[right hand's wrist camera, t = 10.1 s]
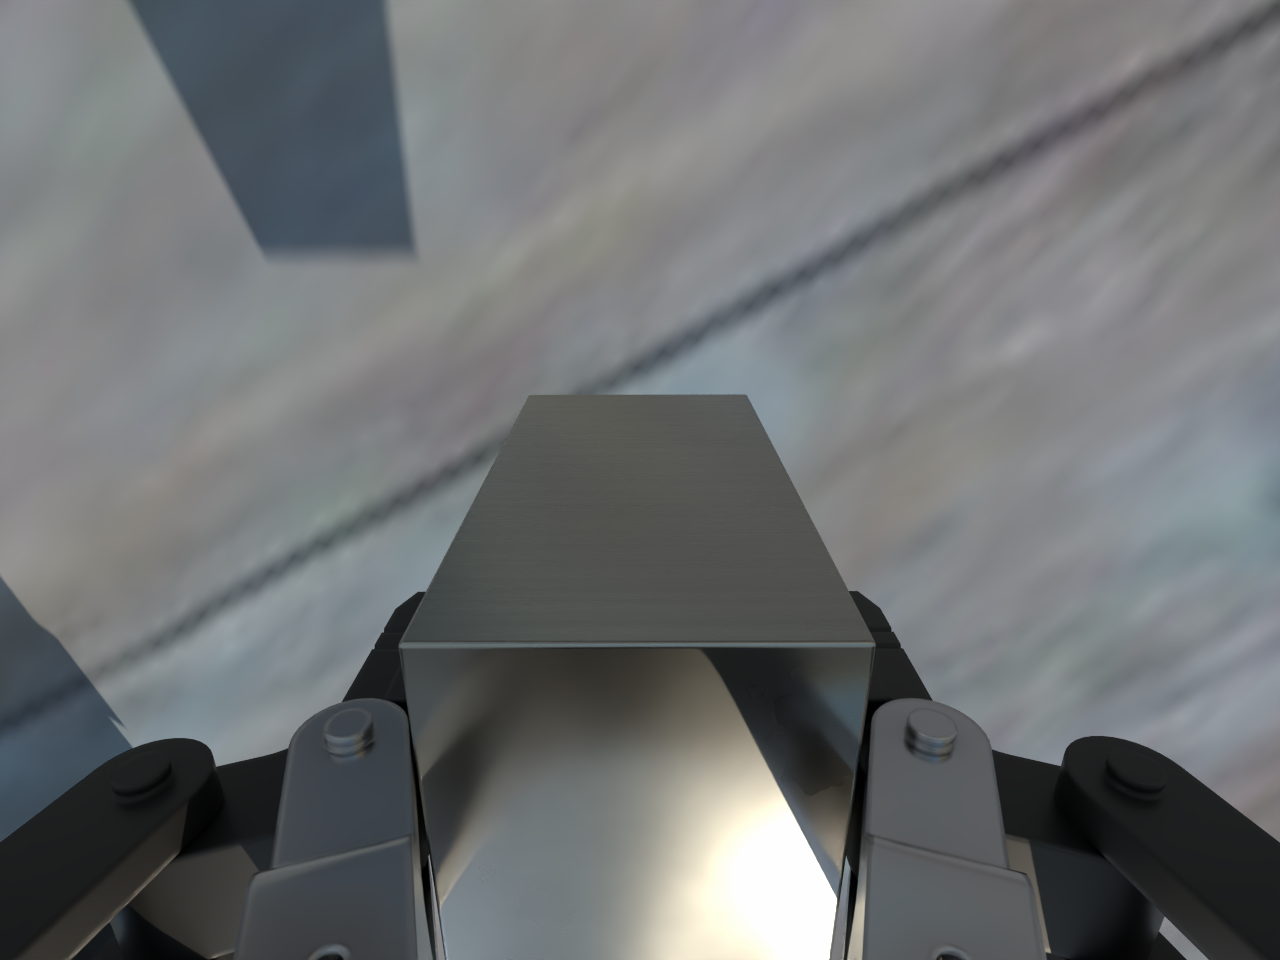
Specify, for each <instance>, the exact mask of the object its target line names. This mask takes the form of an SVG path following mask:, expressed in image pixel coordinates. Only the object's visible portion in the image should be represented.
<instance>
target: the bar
mask: <svg viewBox="0 0 1280 960" xmlns="http://www.w3.org/2000/svg"><path fill="white" fill-rule="evenodd" d="M875 647H876V644H875V641H874V639H873V637H872V635H871V633H870V631H869V629H868V627H867V625H866V624H865V622H864V620H863V618H862V616H861V614H860V612H859V610H858V608H857V606H856V604H855V602H854V601H853V599H852V597H851V595H850V593H849V591H848V589H847V587H846V585H845V583H844V581H843V579H842V577H841V576H840V574H839V572H838V570H837V568H836V566H835V564H834V562H833V560H832V558H831V556H830V554H829V552H828V551H827V549H826V547H825V545H824V543H823V541H822V539H821V537H820V535H819V533H818V531H817V529H816V527H815V526H814V524H813V522H812V520H811V518H810V516H809V514H808V512H807V510H806V508H805V506H804V504H803V502H802V501H801V499H800V497H799V495H798V493H797V491H796V489H795V487H794V485H793V483H792V481H791V479H790V477H789V476H788V474H787V472H786V470H785V468H784V466H783V464H782V462H781V460H780V458H779V456H778V454H777V453H776V451H775V449H774V447H773V445H772V443H771V441H770V439H769V437H768V435H767V433H766V431H765V429H764V428H763V426H762V424H761V422H760V420H759V418H758V416H757V414H756V412H755V410H754V408H753V406H752V404H751V403H750V401H749V399H748V397H747V395H530V396H529V397H528V399H527V401H526V403H525V404H524V406H523V408H522V410H521V412H520V414H519V416H518V418H517V420H516V422H515V423H514V425H513V427H512V429H511V431H510V433H509V435H508V437H507V439H506V441H505V442H504V444H503V446H502V448H501V450H500V452H499V454H498V456H497V458H496V460H495V462H494V463H493V465H492V467H491V469H490V471H489V473H488V475H487V477H486V479H485V481H484V482H483V484H482V486H481V488H480V490H479V492H478V494H477V496H476V498H475V500H474V502H473V503H472V505H471V507H470V509H469V511H468V513H467V515H466V517H465V519H464V521H463V522H462V524H461V526H460V528H459V530H458V532H457V534H456V536H455V538H454V540H453V541H452V543H451V545H450V547H449V549H448V551H447V553H446V555H445V557H444V559H443V561H442V562H441V564H440V566H439V568H438V570H437V572H436V574H435V576H434V578H433V580H432V581H431V583H430V585H429V587H428V589H427V591H426V593H425V595H424V597H423V599H422V601H421V602H420V604H419V606H418V608H417V610H416V612H415V614H414V616H413V618H412V620H411V621H410V623H409V625H408V627H407V629H406V631H405V633H404V635H403V637H402V639H401V640H400V643H399V653H400V660H401V666H402V673H403V680H404V686H405V693H406V700H407V707H408V713H409V720H410V727H411V733H412V740H413V747H414V753H415V760H416V767H417V774H418V780H419V787H420V794H421V800H422V807H423V814H424V820H425V827H426V834H427V841H428V847H429V854H430V861H431V867H432V874H433V881H434V887H435V894H436V901H437V908H438V914H439V921H440V928H441V934H442V941H443V948H444V954H445V960H831V957H832V950H833V943H834V935H835V928H836V921H837V914H838V907H839V900H840V893H841V886H842V879H843V872H844V865H845V858H846V851H847V844H848V837H849V830H850V823H851V816H852V809H853V802H854V795H855V788H856V781H857V773H858V766H859V759H860V752H861V745H862V738H863V731H864V724H865V717H866V710H867V703H868V696H869V689H870V682H871V675H872V668H873V661H874V654H875Z"/></svg>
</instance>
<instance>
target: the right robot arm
mask: <svg viewBox="0 0 1280 960" xmlns="http://www.w3.org/2000/svg"><path fill="white" fill-rule="evenodd" d="M425 593H426V592H417V593H416V594H415V595H413V596H412V597H411V598H409V599H408V600H407V601H405V602H404V603H403V604H401V605H400V606H399V607H397V608H396V609H395V611H394V613H393V614H392V616H391V618H390V620H389V621H388V623H387V625H386V626H385V628H384V633H381V635H380V637H379V639H378V640H377V642H376V644H375V649H372V651H371V652H370V654H369V656H368V658H367V659H366V661H365V663H364V665H363V666H362V668H361V670H360V671H359V673H358V675H357V677H356V678H355V680H354V682H353V684H352V685H351V687H350V689H349V690H348V692H347V694H346V696H345V697H344V699H343V701H342V702H341V703H338V704H336V705H333V706H330V707H328V708H326V709H324V710H322V711H320V712H318V713H317V714H315V715H313V716H312V717H311V718H309V719H308V720H307V721H306V722H304V723H303V724H302V725H301V726H300V727H299V729H298V730H297V731H296V732H295V734H294V735H293V737H292V739H291V741H290V744H289V748H288V749H285V750H282V751H280V752H277V753H274V754H270V755H266V756H262V757H258V758H253V759H249V760H245V761H240V762H236V763H231V764H227V765H222V766H218V767H216V765H215V761H214V758H213V755H212V752H211V750H210V749H209V748H208V746H207V745H205V744H203V743H202V742H200V741H197V740H194V739H187V738H172V739H164V740H159V741H154V742H150V743H147V744H144V745H140V746H138V747H135V748H133V749H130V750H128V751H126V752H124V753H122V754H119V755H117V756H116V757H114V758H112V759H110V760H109V761H107V762H105V763H104V764H103V765H101V766H100V767H98V768H97V769H96V770H94V771H93V772H92V773H90V774H89V775H88V776H86V777H85V778H84V779H82V780H81V781H80V782H79V783H77V784H76V785H75V786H73V787H72V788H71V789H69V790H68V791H67V792H66V793H64V794H63V795H62V796H60V797H59V798H58V799H56V800H55V801H54V802H53V803H51V804H50V805H49V806H47V807H46V808H45V809H43V810H42V811H41V812H40V813H38V814H37V815H36V816H34V817H33V818H32V819H30V820H29V821H28V822H26V823H25V824H24V825H23V826H21V827H20V828H19V829H17V830H16V831H15V832H13V833H12V834H11V835H10V836H8V837H7V838H6V839H4V840H3V841H2V842H0V960H438V950H437V937H436V925H435V912H434V900H433V887H432V878H431V871H430V864H429V858H428V856H429V847H428V841H427V834H426V827H425V820H424V814H423V807H422V800H421V794H420V787H419V780H418V774H417V767H416V760H415V753H414V747H413V740H412V733H411V727H410V720H409V713H408V707H407V700H406V693H405V686H404V680H403V673H402V666H401V660H400V653H399V643H400V640H401V639H402V637H403V635H404V633H405V631H406V629H407V627H408V625H409V623H410V621H411V620H412V618H413V616H414V614H415V612H416V610H417V608H418V606H419V604H420V602H421V601H422V599H423V597H424V595H425ZM849 593H850V595H851V597H852V599H853V601H854V602H855V604H856V606H857V608H858V610H859V612H860V614H861V616H862V618H863V620H864V622H865V624H866V625H867V627H868V629H869V631H870V633H871V635H872V637H873V639H874V641H875V644H876V647H875V654H874V661H873V668H872V675H871V682H870V689H869V696H868V703H867V710H866V717H865V724H864V731H863V738H862V745H861V752H860V759H859V766H858V773H857V781H856V788H855V795H854V802H853V809H852V816H851V823H850V830H849V837H848V844H847V851H846V856H847V859H848V862H849V865H850V871H849V877H848V887H847V899H846V912H845V924H844V937H843V949H842V960H1186V959H1185V958H1184V957H1183V956H1182V955H1181V953H1180V952H1179V951H1178V950H1177V949H1176V948H1175V947H1174V946H1173V945H1172V944H1171V943H1170V942H1169V941H1168V940H1167V939H1166V938H1165V937H1164V936H1163V935H1162V934H1161V933H1160V932H1159V929H1160V927H1161V924H1162V921H1163V919H1164V916H1165V917H1166V918H1167V919H1168V920H1169V921H1170V922H1171V923H1172V924H1173V925H1174V926H1175V927H1176V928H1177V929H1178V930H1179V931H1180V932H1181V933H1182V934H1183V935H1185V936H1186V937H1187V938H1188V939H1189V940H1190V941H1191V942H1192V943H1193V944H1194V945H1195V946H1196V947H1197V948H1198V949H1199V950H1200V951H1201V952H1202V953H1203V954H1204V955H1205V956H1206V957H1207V958H1208V959H1209V960H1280V842H1278V841H1277V840H1276V839H1274V838H1273V837H1272V836H1270V835H1269V834H1268V833H1267V832H1265V831H1264V830H1263V829H1261V828H1260V827H1259V826H1257V825H1256V824H1255V823H1253V822H1252V821H1251V820H1250V819H1248V818H1247V817H1246V816H1244V815H1243V814H1242V813H1240V812H1239V811H1238V810H1237V809H1235V808H1234V807H1233V806H1231V805H1230V804H1229V803H1227V802H1226V801H1225V800H1224V799H1222V798H1221V797H1220V796H1218V795H1217V794H1216V793H1214V792H1213V791H1212V790H1211V789H1209V788H1208V787H1207V786H1205V785H1204V784H1203V783H1201V782H1200V781H1199V780H1197V779H1196V778H1195V777H1194V776H1192V775H1191V774H1190V773H1188V772H1187V771H1186V770H1184V769H1183V768H1182V767H1181V766H1179V765H1178V764H1176V763H1175V762H1173V761H1172V760H1170V759H1169V758H1167V757H1165V756H1164V755H1162V754H1160V753H1158V752H1156V751H1154V750H1152V749H1150V748H1148V747H1145V746H1142V745H1140V744H1137V743H1134V742H1131V741H1128V740H1124V739H1119V738H1114V737H1106V736H1090V737H1084V738H1080V739H1077V740H1075V741H1074V742H1072V743H1071V744H1070V745H1069V746H1068V747H1067V748H1066V751H1065V753H1064V757H1063V761H1062V764H1061V766H1057V765H1053V764H1049V763H1044V762H1040V761H1035V760H1031V759H1026V758H1022V757H1017V756H1013V755H1009V754H1005V753H1001V752H998V751H995V750H992V748H991V744H990V741H989V739H988V737H987V735H986V734H985V732H984V731H983V730H982V729H981V727H980V726H979V725H978V724H977V723H975V722H974V721H973V720H972V719H971V718H969V717H968V716H966V715H965V714H963V713H961V712H960V711H958V710H956V709H954V708H952V707H950V706H947V705H944V704H942V703H939V702H935V701H933V700H932V699H931V697H930V695H929V693H928V692H927V690H926V688H925V686H924V684H923V683H922V681H921V679H920V677H919V676H918V674H917V672H916V670H915V669H914V667H913V665H912V663H911V662H910V660H909V658H908V656H907V655H906V653H905V651H904V649H901V644H900V642H899V641H898V639H897V637H896V635H895V634H894V632H891V627H890V625H889V623H888V621H887V620H886V618H885V616H884V614H883V613H882V611H881V609H880V608H879V607H878V606H876V605H875V604H874V603H873V602H871V601H870V600H869V599H867V598H866V597H865V596H863V595H862V594H861V593H859V592H858V591H849Z"/></svg>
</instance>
